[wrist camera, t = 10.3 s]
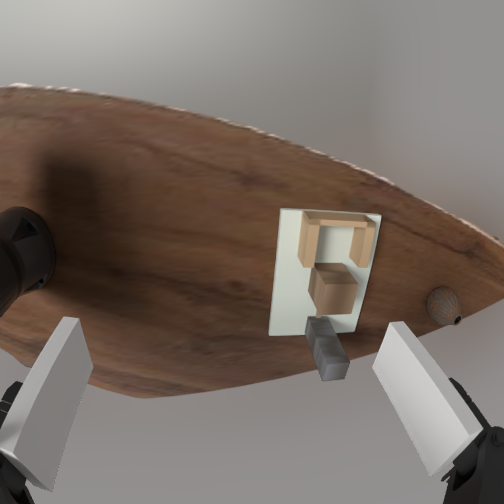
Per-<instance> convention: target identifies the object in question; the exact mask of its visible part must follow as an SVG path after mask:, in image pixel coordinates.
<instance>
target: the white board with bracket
mask: <svg viewBox="0 0 504 504" xmlns="http://www.w3.org/2000/svg"><path fill="white" fill-rule="evenodd" d="M380 222H381V215H379V214H370V213H357V212H343V211H328V210H311V209H292V208H281V209H280V220H279V231H278V242H277V253H276V263H275V274H274V284H273V293H272V303H271V312H270V322H269V331H268V333H269V336H281V335H305V328H306V323H307V317H308V316H315V315H316V310H317V309H316V307H315V305H314V303H313V301H312V299H311V297H310V295H309V292H308V286H309V280H310V273H311V268H314V263H315V262H318V263H343V265H344V266H345V267H346V268H347V270H348V271H349V272H350V273H351V275H352V276H353V277H354V279H355V280H356V281H357V282H358V284H359V285H358V289H357V294H356V298H355V302H354V306H353V310H352V314H342V315H321V316H328V318H329V320H330V322H331V324H332V326H333V328H334V330H335V332H336V333H344V332H354V331H355V328H356V324H357V321H358V317H359V314H360V310H361V306H362V302H363V299H364V295H365V291H366V287H367V283H368V279H369V274H370V270H371V266H372V261H373V257H374V252H375V247H376V242H377V237H378V232H379V227H380Z"/></svg>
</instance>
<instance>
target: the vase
mask: <svg viewBox="0 0 504 504" xmlns="http://www.w3.org/2000/svg"><path fill="white" fill-rule="evenodd" d="M426 308H427V311H428V314H429V315H430V317H431V318H432V319H433V320H434V321H435V322H437V323H438V324H441V325H458V324H459V323H460V322H461V320H462V313H461V302H460V299H459V297H458V296H457V294H456V293H455V292H454V291H452V290H451V289H449V288H446V287H439V288H436V289H434V290H433V291H432V292H431V293H430V294H429V296H428V298H427V302H426Z"/></svg>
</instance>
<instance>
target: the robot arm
mask: <svg viewBox="0 0 504 504" xmlns="http://www.w3.org/2000/svg"><path fill="white" fill-rule="evenodd" d="M55 262H56V255H55V248H54V244H53V240H52V237H51V235H50V233H49V231H48V229H47V227H46V226H45V224H44V223H43V221H42V220H41V219H40V218H39V217H38V216H37V215H36V214H35V213H33V212H32V211H30V210H29V209H26V208H24V207H11V208H9V209H7V210H5V211H3V212H1V213H0V317H1V316H2V315H3V314H4V313H5V311H6V310H7V309H8V308H9V307H10V306H11V305H12V303H13V302H14V301H15V300H16V299H17V298H18V297H19V296H22V295H25V294H27V293H30V292H33V291H36V290H38V289H39V288H41V287H42V286H43V285H44V284H45V283H46V282H47V281H48V280H49V279H50V277H51V276H52V274H53V272H54V268H55ZM372 368H373V370H374V372H375V374H376V376H377V377H378V379H379V381H380V383H381V384H382V386H383V388H384V390H385V392H386V393H387V395H388V397H389V399H390V401H391V403H392V404H393V406H394V408H395V410H396V412H397V414H398V416H399V417H400V419H401V421H402V423H403V425H404V427H405V429H406V431H407V433H408V434H409V436H410V438H411V440H412V442H413V444H414V446H415V448H416V450H417V452H418V454H419V456H420V458H421V460H422V462H423V463H424V466H425V468H426V470H427V472H428V474H429V476H432V475H434V474H436V473H438V472H440V471H443V470H444V469H445V468H447V467H448V466H449V465H450V463H452V462H453V464H454V465H455V466H454V467H453V468H452V469H451V470H450V471H449V472H448V473H447V474H446V475H445V476H443V478H442V480H441V481H444V480H445V479H446V478H448V477H449V476H450V478H449V479H448V480H447V483H448V486H447V490H446V494H445V498H444V502H443V504H504V429H503V428H501V427H496V426H495V427H491V426H490V425H489V423H488V422H487V421H486V419H485V418H484V416H483V415H482V413H481V412H480V411H479V409H478V408H477V406H476V405H475V404H474V402H472V400H471V398H470V397H469V395H467V393H466V391H465V390H464V389H463V387H462V386H461V385H460V384H459V383H458V382H456V381H455V380H454V379H452V378H447V376H446V375H445V374H444V373H443V371H442V370H441V369H440V367H439V366H438V365H437V363H436V362H435V361H434V359H433V358H432V357H431V356H430V354H429V353H428V352H427V350H426V349H425V348H424V347H423V345H422V344H421V343H420V342H419V340H418V339H417V338H416V336H415V335H414V334H413V333H412V332H411V330H410V329H409V328H408V327H407V325H406V324H405V323H404V322H403V321H400V322H390V323H389V326H388V329H387V331H386V334H385V337H384V339H383V342H382V344H381V347H380V349H379V352H378V355H377V357H376V359H375V362H374V364H373V366H372ZM92 370H93V364H92V361H91V358H90V355H89V352H88V348H87V345H86V342H85V338H84V335H83V331H82V327H81V324H80V320H79V318H72V317H63V318H62V320H61V321H60V323H59V325H58V326H57V328H56V329H55V331H54V332H53V334H52V335H51V337H50V339H49V340H48V342H47V343H46V345H45V347H44V348H43V350H42V352H41V353H40V355H39V357H38V358H37V360H36V362H35V364H34V365H33V367H32V369H31V371H30V372H29V374H28V376H27V378H26V379H25V381H24V383H21V382H18V381H16V382H15V383H13V384H12V385H11V386H10V387H9V388H8V389H7V390H6V392H5V394H4V396H3V398H2V401H1V402H0V504H35V503H34V501H33V499H32V497H31V495H30V493H29V490H28V489H27V487H26V486H25V482H26V479H28V480H29V481H30V482H31V483H32V484H33V485H34V486H36V487H39V488H42V489H44V490H47V491H50V492H52V490H53V487H54V483H55V479H56V475H57V472H58V468H59V465H60V461H61V458H62V454H63V451H64V448H65V444H66V441H67V438H68V435H69V432H70V429H71V426H72V423H73V420H74V417H75V414H76V412H77V409H78V406H79V403H80V401H81V398H82V395H83V393H84V390H85V387H86V385H87V382H88V380H89V377H90V375H91V372H92Z"/></svg>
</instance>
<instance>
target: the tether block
mask: <svg viewBox="0 0 504 504" xmlns="http://www.w3.org/2000/svg"><path fill="white" fill-rule="evenodd" d="M358 285H359V284H358V282H357V281H356V280H355V279H354V277H353V276H352V275H351V273H350V272H349V271H348V270H347V268H346V267H345V266H344V265H343V263H318V262H315V263H314V268H311V273H310V280H309V286H308V292H309V295H310V297H311V299H312V301H313V303H314V305H315V307H316V309H317V310H316V315H315V316H308V317H307V323H306V328H305V335H306V338H307V340H308V343H309V346H310V349H311V351H312V354H313V357H314V360H315V363H316V365H317V368H318V371H319V374H320V376H321V379H322V381H331V380H339V379H344V378H345V376H346V373H347V370H348V367H349V364H350V361H349V359H348V357H347V355H346V353H345V351H344V349H343V347H342V345H341V343H340V341H339V339H338V337H337V334H336V332H335V330H334V328H333V326H332V324H331V322H330V320H329V318H328V316H321V315H342V314H352V310H353V306H354V302H355V298H356V294H357V289H358Z"/></svg>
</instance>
